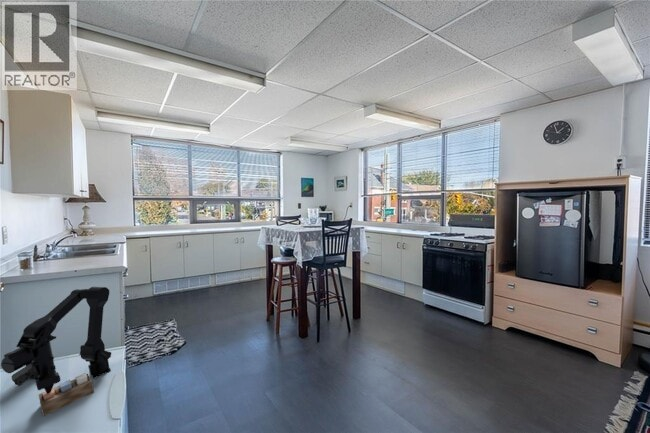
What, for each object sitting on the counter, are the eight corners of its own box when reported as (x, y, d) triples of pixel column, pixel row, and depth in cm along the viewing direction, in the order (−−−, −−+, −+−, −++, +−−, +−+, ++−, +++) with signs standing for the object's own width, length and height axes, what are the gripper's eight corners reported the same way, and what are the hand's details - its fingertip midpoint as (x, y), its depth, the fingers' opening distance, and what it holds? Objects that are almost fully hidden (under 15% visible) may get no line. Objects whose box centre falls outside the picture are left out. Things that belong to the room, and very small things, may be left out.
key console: (89, 384, 127) (87, 373, 126) (93, 392, 122) (92, 381, 121) (40, 405, 115) (38, 394, 114) (43, 416, 110) (41, 404, 109)
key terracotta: (55, 396, 117) (53, 388, 116) (56, 400, 114) (54, 391, 114) (44, 401, 114) (42, 393, 114) (45, 405, 112) (43, 396, 112)
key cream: (86, 381, 124) (85, 372, 123) (88, 384, 122) (86, 376, 121) (76, 385, 122) (75, 377, 121) (78, 388, 119) (77, 380, 119)
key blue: (71, 387, 120) (69, 379, 120) (72, 391, 118) (71, 382, 118) (60, 392, 118) (59, 383, 117) (62, 396, 116) (60, 387, 115)
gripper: (9, 356, 111) (16, 393, 114) (13, 377, 99) (21, 418, 102) (48, 343, 120) (55, 377, 122) (57, 361, 108) (64, 398, 110)
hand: (48, 392), depth 114 cm, fingers closed, pressing on key terracotta
